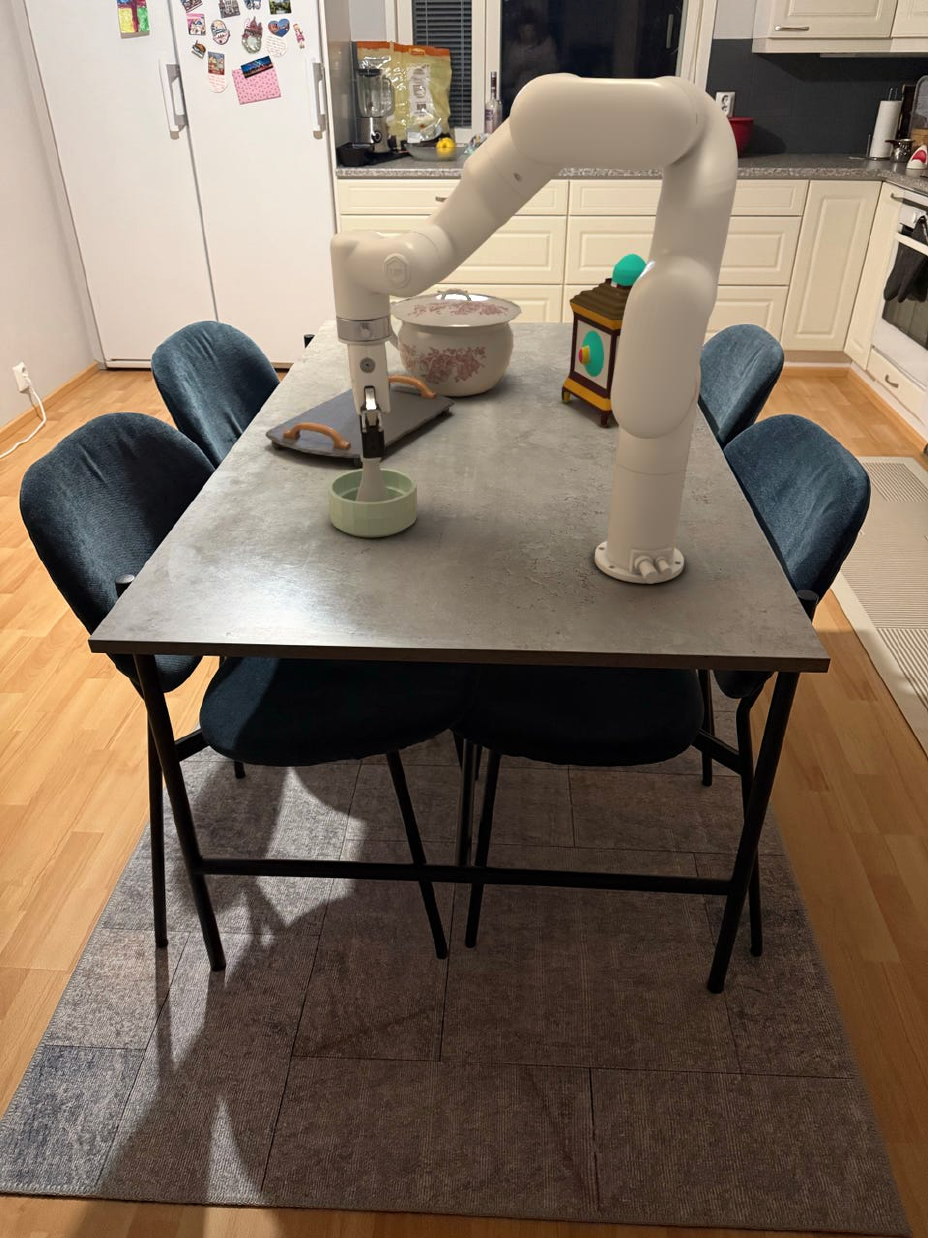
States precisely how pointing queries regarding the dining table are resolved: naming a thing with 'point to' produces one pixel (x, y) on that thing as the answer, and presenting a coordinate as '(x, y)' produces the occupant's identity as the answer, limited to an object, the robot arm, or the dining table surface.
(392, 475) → the basin
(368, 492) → the flask
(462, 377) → the chamber pot
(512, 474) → the dining table surface
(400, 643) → the dining table surface
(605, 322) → the decorative lantern
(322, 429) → the serving tray
